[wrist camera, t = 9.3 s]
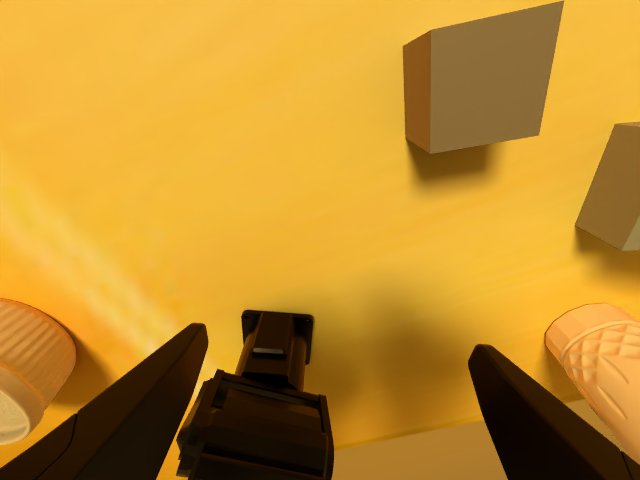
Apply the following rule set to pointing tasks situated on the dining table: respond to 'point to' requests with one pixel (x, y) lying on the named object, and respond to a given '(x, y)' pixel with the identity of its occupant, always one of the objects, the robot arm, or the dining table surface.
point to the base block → (616, 191)
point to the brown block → (480, 79)
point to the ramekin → (30, 367)
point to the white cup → (603, 366)
